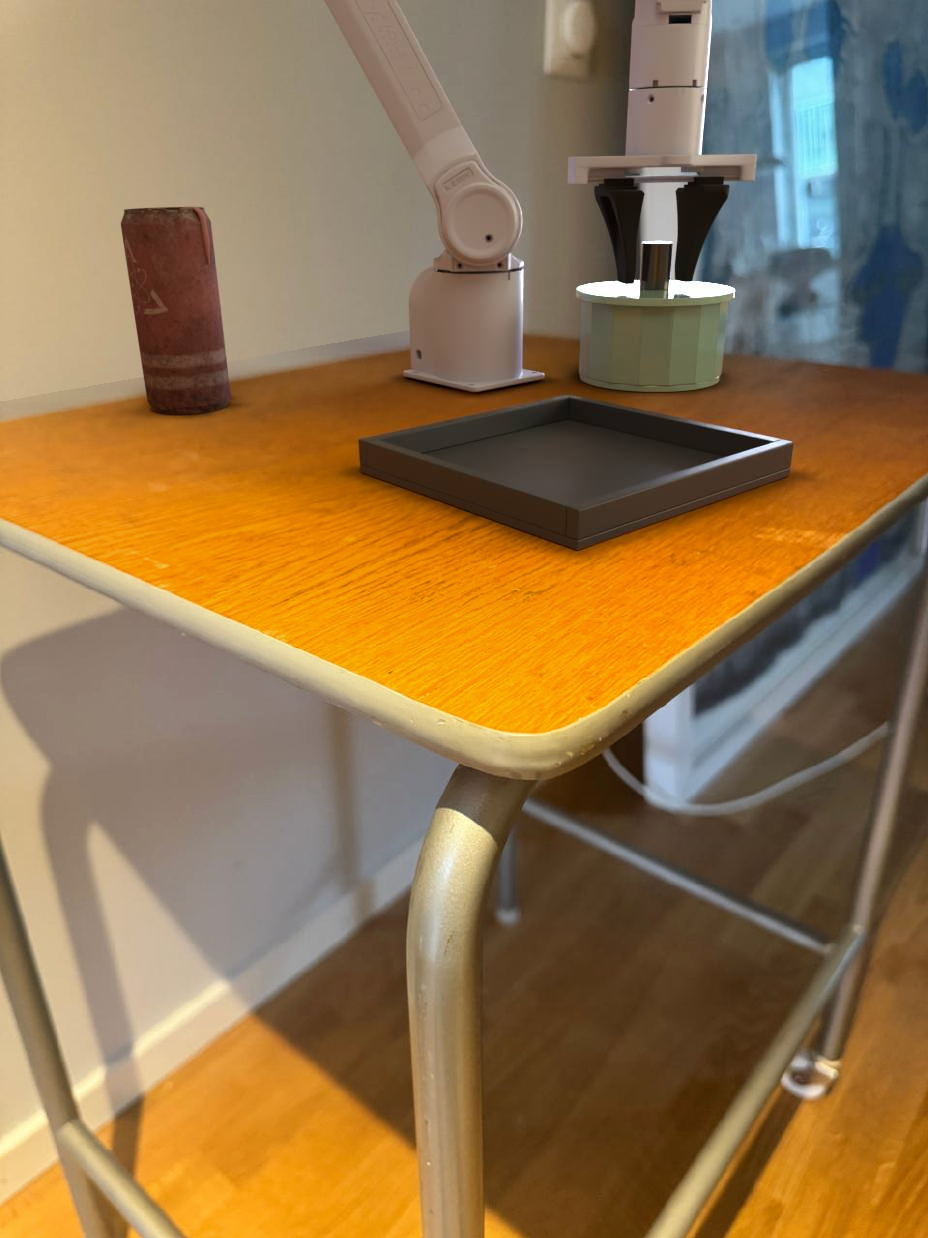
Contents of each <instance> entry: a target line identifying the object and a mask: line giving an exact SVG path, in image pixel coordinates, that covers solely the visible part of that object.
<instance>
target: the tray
mask: <svg viewBox="0 0 928 1238" xmlns="http://www.w3.org/2000/svg"><path fill="white" fill-rule="evenodd" d="M357 443H358V455H359V457H358V458H359V459H358V460H359V472H360V473H361V474H365V475H367V476H370V477H373V478H376V479H379V480H381V481H384V482H387V483H389V484H392V485H395V486H398V487H401V488H404V489H406V490H409V491H412V492H415V493H417V494H420V495H423V496H426V497H428V498H431V499H434V500H437V501H439V502H443V503H445V504H448V505H451V506H454V507H456V508H460V510H461V509H462V510H464V511H468V512H470V513H473V514H476V515H478V516H481V517H484V518H485V519H490V520H492V521H495V522H497V523H500V524H503V525H506V526H508V527H511V528H515V529H517V530H520V531H522V532H525V533H528V534H531V535H533V536H537V537H539V538H542V539H545V540H547V541H551V542H553V543H556V544H559V545H562V546H564V547H567V548H569V549H573V550H575V551H579V550H582V549H585V548H588V547H591V546H593V545H596V544H599V543H603V542H605V541H608V540H611V539H614V538H616V537H620V536H623V535H625V534H628V533H631V532H633V531H637V530H639V529H643V528H645V527H648V526H650V525H653V524H656V523H659V522H663V521H664V520H668V519H670V518H673V517H676V516H679V515H683V514H684V513H688V512H690V511H693V510H697V509H699V508H703V507H704V506H708V505H710V504H714V503H717V502H719V501H722V500H724V499H725V500H726V499H728V498H730V497H733V496H736V495H739V494H742V493H744V492H748V491H751V490H753V489H755V488H758V487H761V486H764V485H768V484H770V483H773V482H776V481H778V480H781V479H784V478H787V477H789V476H790V475H791V466H792V459H793V451H794V441H790V440H786V439H782V438H778V437H774V436H768V435H763V434H759V433H755V432H750V431H746V430H739V429H735V428H731V427H725V426H721V425H716V424H712V423H708V422H702V421H698V420H693V419H687V418H684V417H678V416H674V415H669V414H664V413H659V412H655V411H649V410H646V409H640V408H636V407H631V406H627V405H622V404H617V403H612V402H607V401H604V400H603V401H602V400H598V399H593V398H589V397H584V396H579V395H574V394H571V393H567V394H563V395H562V394H561V395H558V396H554V397H549V398H544V399H539V400H535V401H530V402H526V403H525V402H524V403H520V404H516V405H511V406H507V407H502V408H497V409H493V410H488V411H484V412H478V413H474V414H470V415H465V416H459V417H455V418H451V419H446V420H441V421H437V422H436V421H435V422H431V423H427V424H423V425H418V426H414V427H409V428H404V429H400V430H395V431H390V432H386V433H379V434H375V435H371V436H367V437H362V438H358V442H357Z"/></svg>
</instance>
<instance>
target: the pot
mask: <svg viewBox="0 0 928 1238" xmlns="http://www.w3.org/2000/svg"><path fill="white" fill-rule="evenodd" d="M580 301H581V303H580V329H579V331H580V332H579V361H578V378H579V380H580V381H582V382H583V383H585V384H588V385H591V386H593V387H598V388H603V389H608V390H615V391H624V392H636V393H637V392H638V393H676V392H686V391H687V392H689V391H695V390H701V389H706V388H709V387H712V386H715V385H717V384H718V383H719V382H720V380H721V376H722V372H723V362H724V353H725V341H726V331H727V323H728V322H727V320H728V309H729V301H727V302H722V303H716V304H709V305H697V306H675V307H643V306H621V305H608V304H599V303H593V302H587V301H583V300H580Z"/></svg>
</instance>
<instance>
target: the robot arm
mask: <svg viewBox="0 0 928 1238" xmlns="http://www.w3.org/2000/svg"><path fill="white" fill-rule="evenodd" d="M324 3H325V5H326V6H327V8H328V10H329V11H330V14H331V15H332V17H333V19H334V21H335V22H336V24H337V26H338V28H339V30H340V31H341V33H342V35H343V37H344V39H345V41H346V42H347V44H348V46H349V48H350V49H351V51H352V54H353V55H354V57H355V59H356V61H357V62H358V65H359V66H360V68H361V70H362V71H363V73H364V75H365V77H366V79H367V80H368V82H369V84H370V86H371V88H372V89H373V92H374V93H375V95H376V96H377V98H378V100H379V102H380V104H381V106H382V107H383V109H384V110H385V113H386V115H387V116H388V118H389V120H390V122H391V124H392V127H394V129H395V131H396V133H397V134H398V136H399V138H400V140H401V142H402V143H403V146H404V147H405V149H406V151H407V153H408V154H409V157H410V159H411V160H412V162H413V165H414V166H415V168H416V169H417V172H418V173H419V175H420V177H421V179H422V181H423V183H424V185H425V187H426V189H427V191H428V192H429V194H430V196H431V198H432V201H433V202H434V206H435V210H436V215H437V230H438V234H439V238H440V241H441V243H442V245H443V246H444V248H445V249H444V250H443V251H442V253H441V254H439V256H437V257H434V258H433V260H432V266H429V267H427V268H425V269H424V270H422V271H421V272H420V273H419V274H418V275H417V276H416V278H415V279H414V282H413V283H412V286H411V288H410V292H409V295H408V319H409V320H408V324H409V349H410V350H409V351H410V352H409V353H410V369H405V370H403V371H402V374H403V377H405V378H410V379H414V380H418V381H423V382H427V383H432V384H437V385H441V386H445V387H449V388H454V389H458V390H460V391H461V390H462V391H465V392H471V393H479V392H484V391H489V390H494V389H499V388H505V387H509V386H515V385H520V384H524V383H525V384H526V383H529V382H530V383H531V382H536V381H540V380H544V379H545V377H546V376H545V373H544V372H540V371H536V370H531V369H530V370H529V369H525V368H523V345H524V343H523V335H524V334H523V331H524V329H523V328H524V324H523V323H524V268H523V267H524V260H523V259H522V258H521V259H520V258H518V257H515V256H514V254H513V253H512V252H513V250H514V249H515V247H516V246H517V244H518V242H519V240H520V237H521V235H522V230H523V211H522V208H521V204H520V202H519V200H518V198H517V196H516V194H515V193H514V191H513V190H512V189H511V188H510V187H509V186H508V185H507V184H505V183H504V182H502V181H501V180H500V179H498V178H496V177H495V176H494V175H493V174H492V173H491V172H490V171H489V169H488V168H487V167H486V166H485V163H484V162H483V160H482V158H481V156H480V154H479V152H478V151H477V149H476V147H475V146H474V144H473V142H472V140H471V139H470V137H469V135H468V133H467V132H466V130H465V128H464V127H463V124H462V123H461V121H460V119H459V117H458V115H457V113H456V111H455V110H454V107H453V105H452V104H451V102H450V100H449V98H448V96H447V94H446V92H445V90H444V89H443V87H442V84H441V83H440V81H439V79H438V77H437V74H436V72H435V71H434V69H433V68H432V66H431V64H430V61H429V60H428V58H427V56H426V54H425V53H424V51H423V48H422V46H421V45H420V42H419V40H418V39H417V37H416V35H415V32H413V29H412V28H411V25H410V23H409V22H408V20H407V18H406V16H405V14H404V13H403V10H402V8H401V7H400V5H399V2H398V1H397V0H324ZM634 3H635V4H634V17H633V19H632V21H631V22H632V23H631V39H630V41H631V42H630V60H629V78H628V79H629V81H628V95H627V114H626V115H627V118H626V135H625V154H624V155H604V156H603V155H601V156H568V157H567V185H574V186H576V185H577V186H578V185H579V186H580V185H594V187H593V188H594V189H593V193H594V197H595V198H594V199H595V201H596V204H597V206H598V209H599V210H600V212H601V215H602V218H603V221H604V223H605V226H606V229H607V231H608V236H609V239H610V242H611V247H612V250H613V251H612V252H613V256H614V262H615V267H616V275H617V276H616V277H617V281H618V282H620V283H623V284H634V281H635V280H636V274H637V253H638V252H637V251H638V250H637V247H638V234H639V226H640V221H641V214H642V210H643V209H642V208H643V203H644V198H645V195H646V193H645V192H644V191H643V190H642V189H638V186H637V185H635V184H655V183H656V184H657V183H659V184H661V183H687V184H683V187H677V189H676V190H675V200H676V215H677V216H676V217H677V218H676V219H677V221H676V223H677V235H676V236H677V237H676V247H675V249H676V250H675V256H674V258H675V259H674V281H682V282H693V280H694V274H695V272H696V269H697V265H698V262H699V259H700V255H701V253H702V249H703V247H704V245H705V242H706V239H707V237H708V235H709V232H710V230H711V228H712V227H713V224H714V222H715V220H716V218H717V216H718V215H719V213H720V211H721V210H722V208H723V206H724V205H725V203H726V202H727V200H728V199H729V195H730V188H731V185H730V184H725V183H724V182H755V179H756V168H757V160H758V159H757V158H758V154H757V153H745V154H744V153H741V154H738V153H736V154H733V153H732V154H702V151H703V149H702V148H703V140H704V139H703V137H704V126H705V115H706V114H705V113H706V101H707V88H708V79H709V77H708V76H709V64H710V52H711V40H712V26H713V15H712V10H713V9H712V8H713V0H635V2H634ZM646 168H648V169H649V168H680V173H696V174H678V175H677V174H673V175H671V174H670V175H630V174H643V173H644V169H646ZM628 174H629V175H628Z"/></svg>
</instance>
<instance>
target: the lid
mask: <svg viewBox="0 0 928 1238" xmlns="http://www.w3.org/2000/svg"><path fill="white" fill-rule="evenodd" d="M673 246H674V243H673V242H672V241H667V240H666V241H665V240H664V241H663V240H654V241H652V240H651V241H642V242H641V252H640V253H641V254H640V255H641V256H640V269H639V270H640V272H639V279H638V280H637V279H635V281H634V284H623V283H620V282H618V280H615V281H613V280H612V281H602V282H592V283H587V284H583V285H579V286H578V287H576V288H575V297H576V299H578V300H580V301H582V300H583V301H587V302H593V303H599V304H608V305H621V306H643V307H675V306H697V305H709V304H716V303H722V302H727V301H728V302H730V301H732V300H733V299H734V298H735V292H736V289H735V288H734V287H731V286H728V285H724V284H719V283H712V282H705V281H704V282H703V281H692V282H682V281H678V280H671V276H672V275H671V274H672V261H673V260H672V259H673V248H674V247H673Z"/></svg>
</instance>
